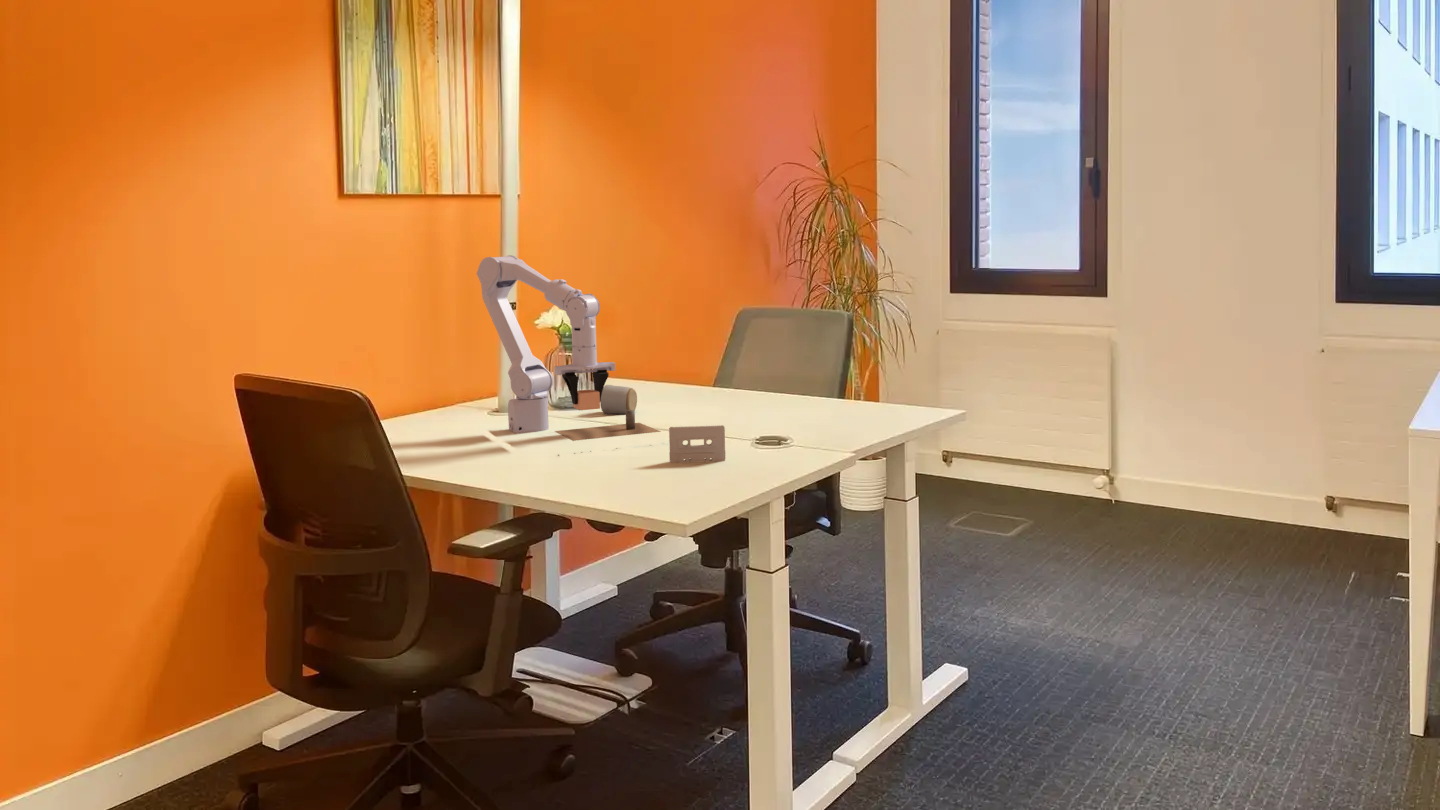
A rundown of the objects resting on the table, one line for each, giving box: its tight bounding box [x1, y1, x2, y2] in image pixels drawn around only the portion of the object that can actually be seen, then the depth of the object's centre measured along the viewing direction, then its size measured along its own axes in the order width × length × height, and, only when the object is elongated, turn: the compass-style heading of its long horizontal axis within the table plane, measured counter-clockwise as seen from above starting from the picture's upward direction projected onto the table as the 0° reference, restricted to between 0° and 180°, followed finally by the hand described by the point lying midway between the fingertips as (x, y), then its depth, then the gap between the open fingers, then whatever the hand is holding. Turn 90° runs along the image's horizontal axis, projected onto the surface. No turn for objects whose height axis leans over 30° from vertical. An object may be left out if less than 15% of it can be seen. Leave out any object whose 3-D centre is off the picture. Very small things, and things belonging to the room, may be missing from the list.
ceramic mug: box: [600, 384, 638, 415], centre depth 328 cm, size 11×8×8 cm
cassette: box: [668, 424, 726, 463], centre depth 264 cm, size 12×2×8 cm, turn 93°
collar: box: [572, 388, 601, 411], centre depth 293 cm, size 5×5×4 cm
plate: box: [554, 409, 662, 442], centre depth 296 cm, size 22×14×6 cm, turn 115°
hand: (586, 402), depth 293 cm, fingers closed on collar, 5 cm apart
